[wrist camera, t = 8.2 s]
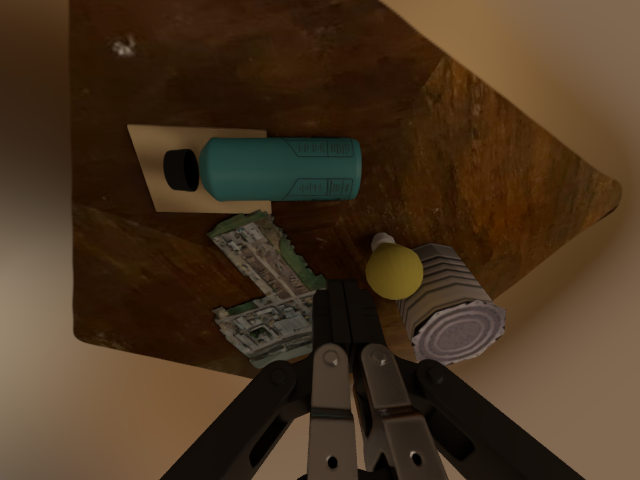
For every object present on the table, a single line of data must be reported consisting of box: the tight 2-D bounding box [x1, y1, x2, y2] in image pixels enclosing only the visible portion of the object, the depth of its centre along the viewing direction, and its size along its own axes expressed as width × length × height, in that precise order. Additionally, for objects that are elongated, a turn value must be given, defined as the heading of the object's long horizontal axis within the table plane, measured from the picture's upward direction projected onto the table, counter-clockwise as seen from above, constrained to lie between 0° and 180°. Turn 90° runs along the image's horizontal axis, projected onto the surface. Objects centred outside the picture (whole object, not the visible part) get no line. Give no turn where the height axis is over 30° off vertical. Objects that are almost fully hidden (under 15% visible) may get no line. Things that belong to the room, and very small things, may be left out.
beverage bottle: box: [163, 136, 361, 202], centre depth 27 cm, size 6×7×20 cm
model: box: [207, 209, 326, 369], centre depth 42 cm, size 21×30×2 cm
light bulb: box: [365, 233, 423, 300], centre depth 33 cm, size 7×7×10 cm
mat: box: [127, 124, 272, 214], centre depth 30 cm, size 10×14×1 cm
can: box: [396, 243, 506, 366], centre depth 36 cm, size 11×11×12 cm
